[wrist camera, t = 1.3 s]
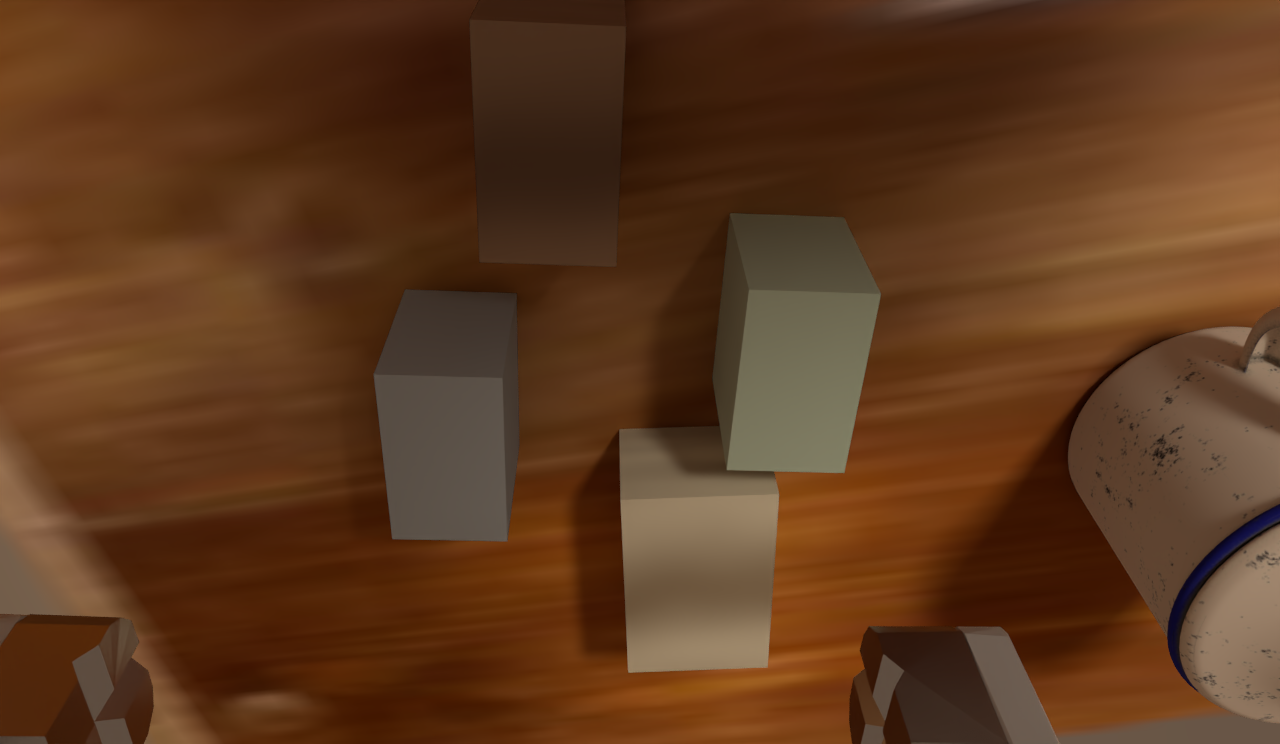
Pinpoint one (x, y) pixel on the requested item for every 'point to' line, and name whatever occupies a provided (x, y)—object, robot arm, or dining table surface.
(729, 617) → the maple block
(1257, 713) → the teacup with lid
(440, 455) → the grey block
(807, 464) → the sage block
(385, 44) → the dining table surface
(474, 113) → the walnut block
